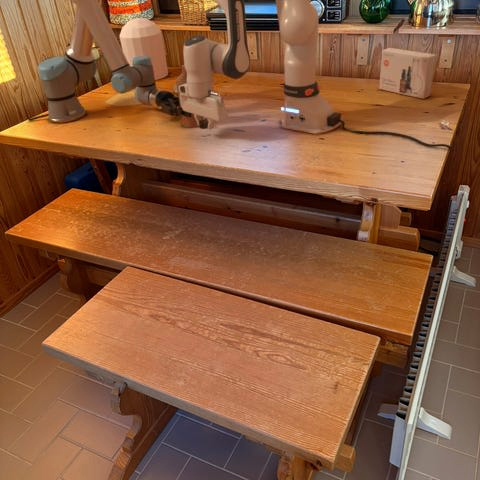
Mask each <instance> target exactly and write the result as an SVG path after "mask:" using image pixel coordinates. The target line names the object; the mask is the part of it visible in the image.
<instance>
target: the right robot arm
mask: <svg viewBox="0 0 480 480" xmlns="http://www.w3.org/2000/svg"><path fill="white" fill-rule="evenodd" d="M212 1H213V2H214V3H216V4H217V5H218V6H219V7H220V8H221V9H222V11H223V13H224V14H225V17H226V27H227V41H228V43H223V42H218V41H214V40H211V39H209V38H207V36H205V35H195V36H190V37H189V38H187V39H186V40H185V41H184V43H183V51H182V52H183V65H185V69H186V72H187V83H186V84H183V85H180V86H179V87H178V88H179V92H181V93H180V101H181V106H182V109H183V110H184V111H186V112H189V113H193V114H194V117H195V119H196V121H197V124H198V126H197V127H200V126H199V121H201V120H202V119H201V116H202V117H203V118H205V119H207V120H208V121H209V123H208V124H207V130H209V131H211V130H213V129H214V123H215V121H216V122H221V121H223V120H225V119H226V118H227V110H226V103H225V101H224V98H223V96H222V95H221V94H220V93H219V92H217V91H215V87H214V86H215V85H214V79H213V78H214V77H213V75H214V74H218V75H221V76H226V77H228V78H231V79H233V80H239V79H242V78H243V77H244V76H245V75H246V74H247V72H248V71H249V69H250V66H251V56H250V51H249V46H248V37H247V35H248V34H247V19H246V6H245V0H212ZM275 5H276V14H277V20H278V27H279V35H280V38H281V40H282V42H284V43H285V51H284V57H283V67H284V68H283V70H284V82H283V89H282V90H283V94H284V103H283V107H280V109H281V111H282V116H281V120H280V121H281V128H282V129H288V130H292V131H298V132H303V133H309V134H313V135H314V134H315V135H319V134H324V133H328V132H331V131H332V130H335V129H337V128H338V127H339V126H340V125H341V124H342V125H341V129H342V130H344V131H348V132H350V133H354V134H365V135H366V134H367V135H368V134H369V135H370V134H373V135H374V134H375V135H377V134H379V135H380V134H381V135H390V136H397V137H402V138H406V139H409V140H412V141H414V142H416V143H418V144H420V145H423V146H426V147H430V148H434V147H445V148H447V149H449V150H450V151H451V152H454V151H455V150H454V148H453V147H452V146H451V145H448V144H445V143H427V142H424V141H422V140H419V139H417V138H415V137H413V136H410V135H407V134H403V133H398V132H391V131H377V130H376V131H373V130H372V131H369V130H368V131H367V130H349V129H347V128H345V121H344V120H342V113H340V112H335V110H334V109H335V108H334V106H333V105H332V104H331V103H330V102H329V101H328V100H327V99H326V98H325V97H324V96H323V95H322V94H321V93H320V90H321V89H322V86H323V85H322V84H320V85H319V84H318V81H317V50H318V38H319V37H318V36H319V13H318V10H317V9H316V7H315V6H314V5H313V4H311V0H275ZM453 199H454V198H451V199H450V200H449V203H448V207H447V212H446V216H445V222H444V227H443V231H442V234H441V240H440V244H439V249H438V255H437V259H436V262H437V263H440V261H441V260H440V259H441V254H442V249H443V244H444V239H445V236H446V232H447V227H448V223H449V218H450V214H451V209H452V206H453V205H452V203H453Z"/></svg>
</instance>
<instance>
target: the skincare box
mask: <svg viewBox="0 0 480 480" xmlns="http://www.w3.org/2000/svg"><path fill="white" fill-rule="evenodd" d="M436 57H437V54H435V53H427V52H423V51H422V52H420V51H413V50H407V49H400V48H395V47H394V48H393V47H387V48H385V49H382V50H381V61H380V74H379V86H378V87H379V88H378V89H379V90H383V91H387V92H391V93H395V94H399V95H405V96H409V97H414V98H418V99H422V100H424V99H426V98H428V97H430V96H431V91H432V86H433V85H432V84H433V78H434V73H435V72H434V71H435V70H434V69H435V64H436Z"/></svg>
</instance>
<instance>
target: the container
mask: <svg viewBox="0 0 480 480" xmlns="http://www.w3.org/2000/svg"><path fill="white" fill-rule="evenodd" d="M119 41H120V46H121V49H122V51H123V53H124V55H125V57H126V59H127V61H128V63H129V65H130V67H132V66H133V61H132V60H133V58H135V57H137V56H149V57H150V58H151V62H152V65H153V71H154V77H155V81H157V80H161V79H163V78H165V77H168V75H169V68H168V64H167V57H166V51H165V45H164V39H163V32H162V30H161V29H160V27H159V26H158V25H157V24H156V23H155V22H154V21H152V20H150V19H148V18H144V17H136V18H132V19H129V20H128V21H127V22H126V23H125V24H124V25H123V26H122V28H121V31H120V33H119Z"/></svg>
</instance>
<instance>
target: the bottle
mask: <svg viewBox="0 0 480 480" xmlns="http://www.w3.org/2000/svg"><path fill="white" fill-rule="evenodd" d="M181 71H182V73H181V74H180V75H179V76H178V77H176V79H175V85H177V91H178V94H177V97H179V104H180V107H182V106H181V101H180V93H181V92H179V88H178V87H179V86H180V85H183V84H186V83H187V72H186V69H185V65H184V64H182V65H181ZM180 116H181V122H182V126H183V127H185V128H196V127H199V126H198V124H197V121H196V119H195V117H194V114H193V113H191V117H187V116H183V115H180ZM201 119H202V120H205V117H202V116H201Z"/></svg>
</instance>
